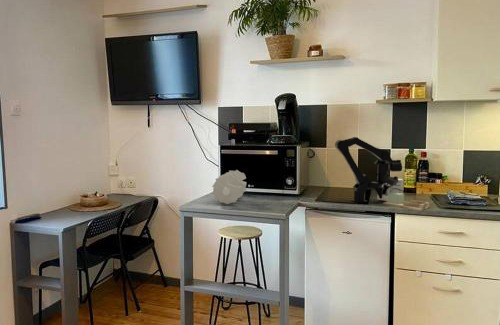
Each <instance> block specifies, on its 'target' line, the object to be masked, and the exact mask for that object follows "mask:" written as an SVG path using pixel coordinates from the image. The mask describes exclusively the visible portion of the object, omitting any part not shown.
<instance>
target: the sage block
mask: <svg viewBox="0 0 500 325" xmlns="http://www.w3.org/2000/svg"><path fill="white" fill-rule="evenodd" d="M376 199H377V200H378V201H379V200H380V201H384V202H392V203H398V204H400V203H403V202H404V201H405V193H403V192H402V193H396V192H391V193H388V195H387V194H385V195H384V194H382V198H379V195H378V193H377V194H376Z"/></svg>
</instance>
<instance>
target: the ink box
mask: <svg viewBox="0 0 500 325" xmlns="http://www.w3.org/2000/svg"><path fill="white" fill-rule="evenodd" d="M388 185H389V186H391V185H390V184H388ZM403 187H404V179H403V178H398V183H397V184H396V185H394V186H391V187H389V188H388V189H387V192H386V195H388V193H391V192H396V193H403V190H404V189H403Z"/></svg>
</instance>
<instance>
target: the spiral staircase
mask: <svg viewBox="0 0 500 325" xmlns="http://www.w3.org/2000/svg"><path fill="white" fill-rule="evenodd" d="M246 179H247V177H246V174H245V173H244V172H241V171H239V170H238V169H235V170H228V172H225V173H224V174H221V175H220V176H218V177H217V178H215V182H214V183H213V184H212V187H213V190H212V195H213V197H214V199H216V200H217V202H219V203H220V204H225V205H229V204H232V203H236V202H237V201H238V198H242V197H243V194H244V193H245V192H246V191H247V189H246V188H247V181H244V180H246Z"/></svg>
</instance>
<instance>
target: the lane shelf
mask: <svg viewBox="0 0 500 325" xmlns="http://www.w3.org/2000/svg"><path fill="white" fill-rule="evenodd" d="M382 204H383V205H387V206H392V207H398V208H403V209H409V210H414V211H420V212H421V211H423V210H426V209H428V208H431V205H430V202H428V201H421V200H415V199H409V201H405V200H404V202H403V203H400V204H398V203H392V202H388V201H384V202H383V203H382Z"/></svg>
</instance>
